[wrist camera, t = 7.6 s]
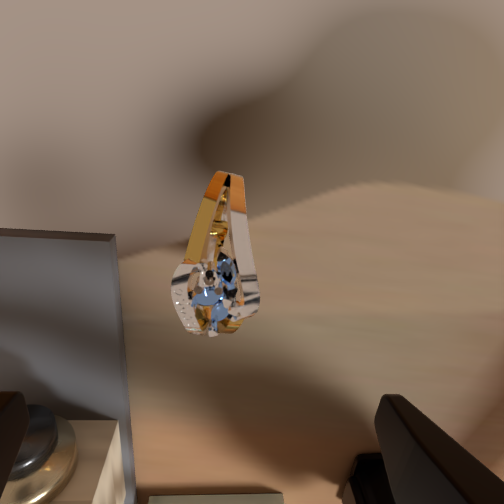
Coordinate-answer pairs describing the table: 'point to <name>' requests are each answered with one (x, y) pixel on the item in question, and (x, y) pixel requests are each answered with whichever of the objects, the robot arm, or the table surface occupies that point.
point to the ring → (217, 263)
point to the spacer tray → (218, 499)
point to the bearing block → (70, 350)
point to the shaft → (42, 459)
